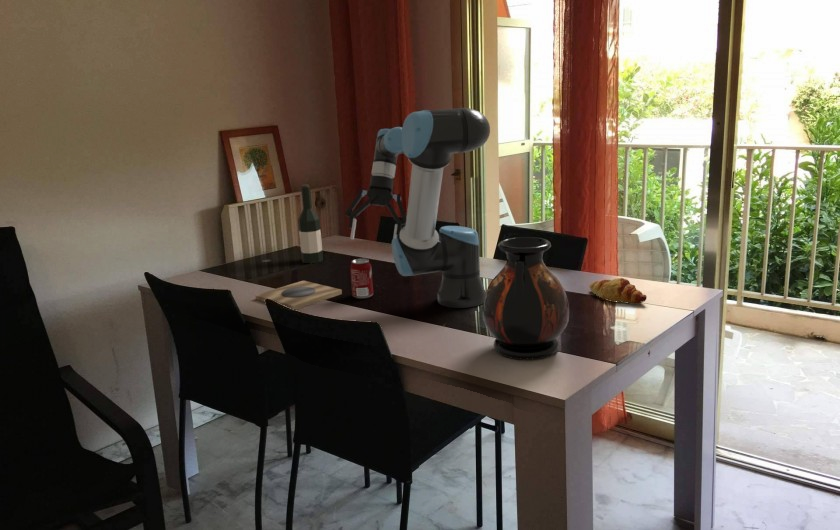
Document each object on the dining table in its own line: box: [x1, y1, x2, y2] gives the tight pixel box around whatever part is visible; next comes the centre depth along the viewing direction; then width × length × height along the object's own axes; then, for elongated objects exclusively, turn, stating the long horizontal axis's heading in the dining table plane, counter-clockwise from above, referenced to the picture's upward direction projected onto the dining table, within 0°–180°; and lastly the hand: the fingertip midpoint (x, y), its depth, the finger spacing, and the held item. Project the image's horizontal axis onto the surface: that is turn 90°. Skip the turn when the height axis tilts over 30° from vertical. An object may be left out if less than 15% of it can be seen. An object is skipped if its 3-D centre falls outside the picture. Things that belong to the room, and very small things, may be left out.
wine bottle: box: [297, 184, 324, 265], centre depth 282 cm, size 8×8×30 cm
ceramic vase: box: [481, 236, 570, 361], centre depth 182 cm, size 22×22×28 cm
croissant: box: [589, 277, 648, 304], centre depth 221 cm, size 21×10×8 cm, turn 36°
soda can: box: [349, 258, 374, 300], centre depth 235 cm, size 7×7×12 cm
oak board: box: [255, 280, 343, 310], centre depth 240 cm, size 20×20×2 cm
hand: (372, 242), depth 235 cm, fingers open, 13 cm apart
